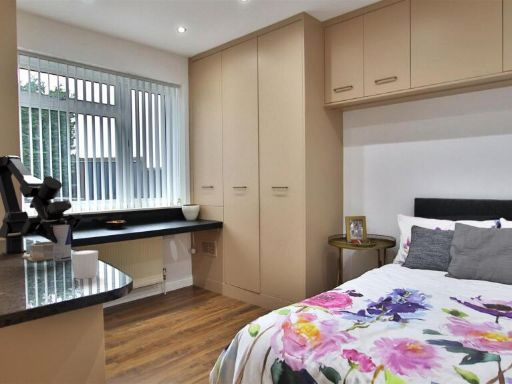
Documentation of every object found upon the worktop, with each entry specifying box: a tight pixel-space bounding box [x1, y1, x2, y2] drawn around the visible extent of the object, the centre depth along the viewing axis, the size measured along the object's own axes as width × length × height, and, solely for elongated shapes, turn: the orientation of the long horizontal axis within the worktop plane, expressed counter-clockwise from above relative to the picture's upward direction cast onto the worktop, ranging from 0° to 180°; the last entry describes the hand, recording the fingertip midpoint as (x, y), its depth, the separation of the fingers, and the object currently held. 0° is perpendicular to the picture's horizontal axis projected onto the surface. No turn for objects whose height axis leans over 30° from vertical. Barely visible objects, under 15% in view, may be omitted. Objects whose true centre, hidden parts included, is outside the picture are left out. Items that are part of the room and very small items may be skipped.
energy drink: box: [52, 225, 72, 262], centre depth 123 cm, size 5×5×12 cm
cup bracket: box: [22, 241, 54, 263], centre depth 128 cm, size 11×11×5 cm
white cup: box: [71, 249, 99, 280], centre depth 101 cm, size 7×7×7 cm
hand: (64, 241), depth 123 cm, fingers closed on energy drink, 5 cm apart
